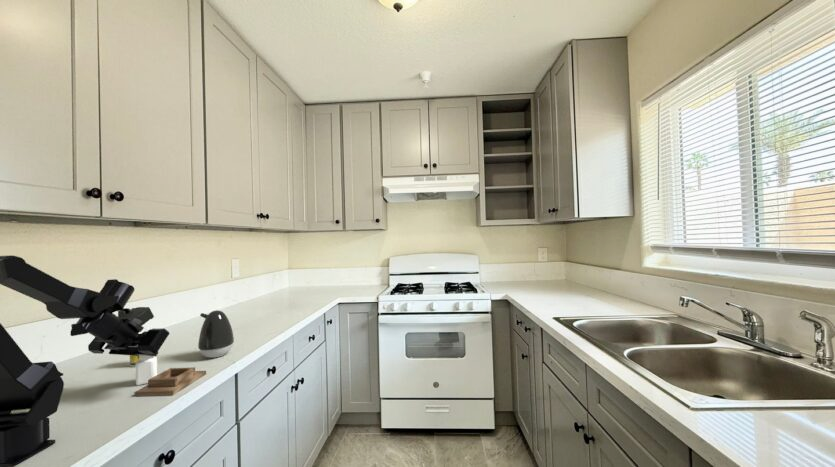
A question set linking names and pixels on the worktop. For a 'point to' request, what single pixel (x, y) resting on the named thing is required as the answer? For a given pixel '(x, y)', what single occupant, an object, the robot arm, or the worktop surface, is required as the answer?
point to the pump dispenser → (215, 335)
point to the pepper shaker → (145, 369)
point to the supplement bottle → (133, 360)
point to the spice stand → (170, 382)
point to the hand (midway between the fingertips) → (151, 354)
